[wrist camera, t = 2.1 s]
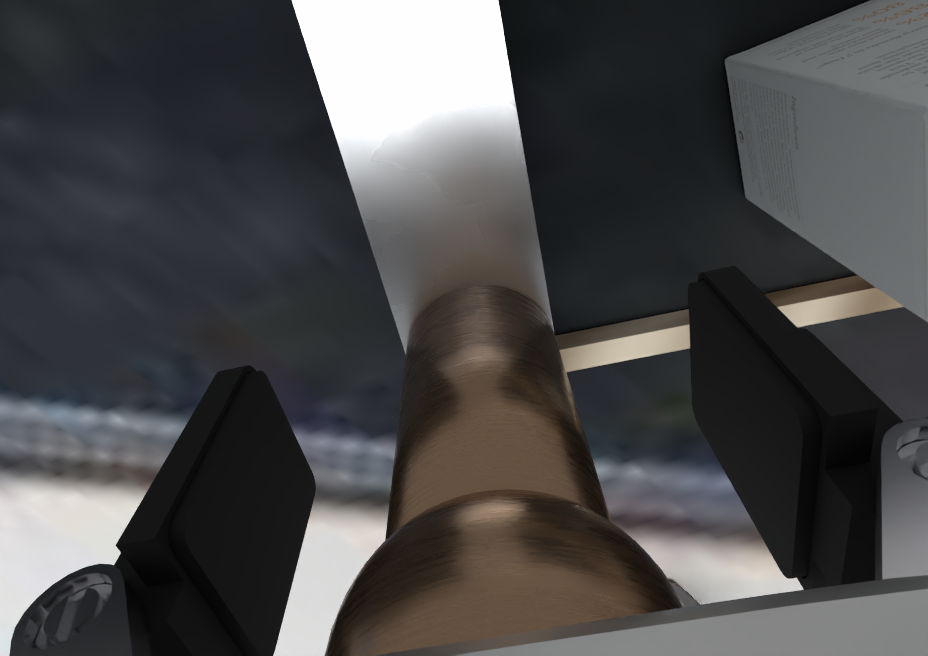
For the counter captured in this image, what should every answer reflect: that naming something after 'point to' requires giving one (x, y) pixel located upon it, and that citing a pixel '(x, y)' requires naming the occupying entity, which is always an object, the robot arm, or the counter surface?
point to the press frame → (675, 334)
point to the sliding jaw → (464, 345)
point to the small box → (844, 139)
